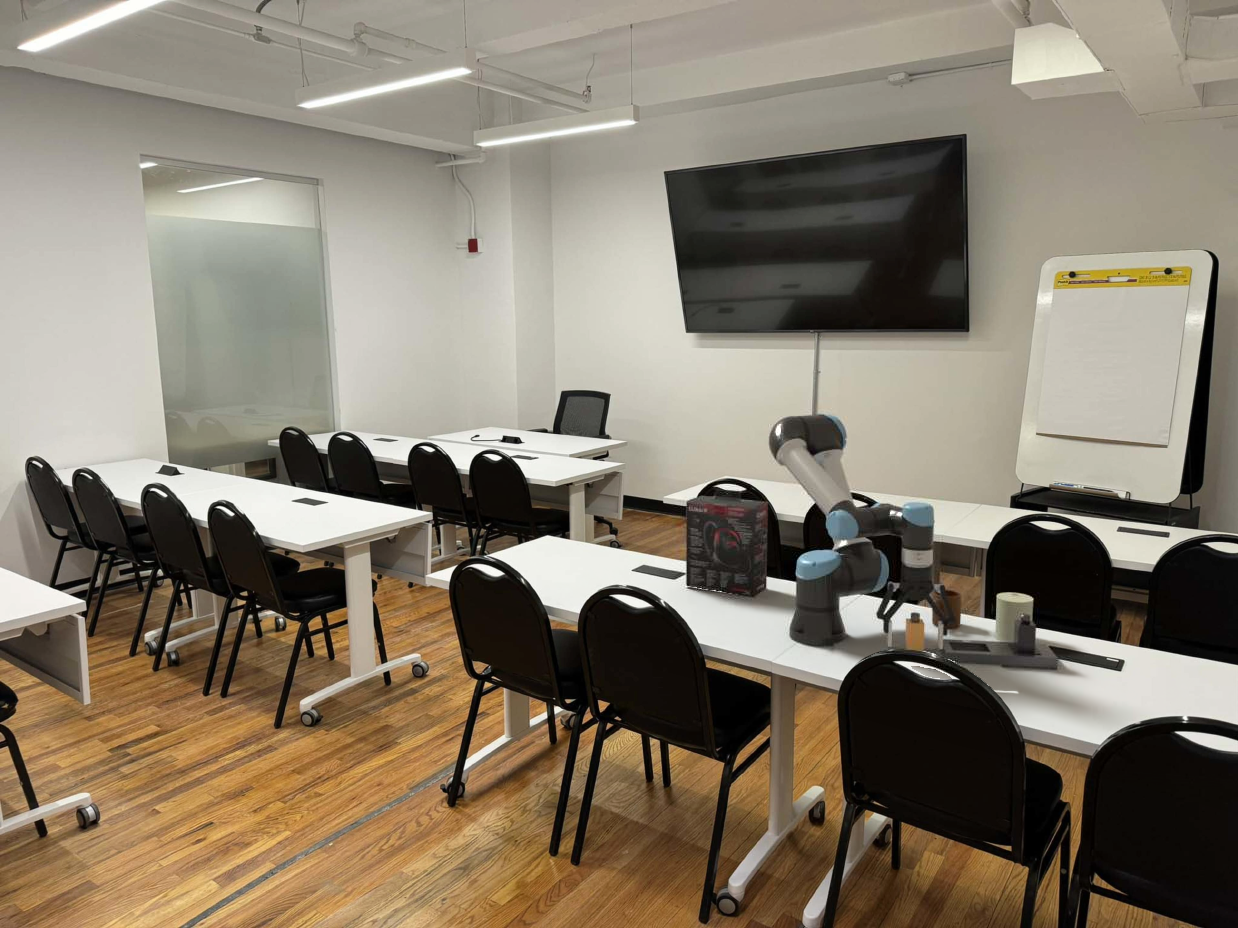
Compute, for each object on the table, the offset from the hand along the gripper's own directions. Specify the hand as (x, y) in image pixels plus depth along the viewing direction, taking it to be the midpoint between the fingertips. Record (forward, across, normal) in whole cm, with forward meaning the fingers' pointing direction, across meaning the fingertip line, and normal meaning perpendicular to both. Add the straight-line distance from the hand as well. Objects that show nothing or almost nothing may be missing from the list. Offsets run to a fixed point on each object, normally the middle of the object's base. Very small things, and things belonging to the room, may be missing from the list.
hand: (914, 646), depth 221 cm
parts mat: (+3, 0, 0) cm, 3 cm away
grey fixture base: (+3, +20, +1) cm, 20 cm away
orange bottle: (+2, 0, 0) cm, 2 cm away
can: (+3, +28, +18) cm, 33 cm away
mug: (+3, +11, +25) cm, 28 cm away
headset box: (+3, -52, +55) cm, 76 cm away
